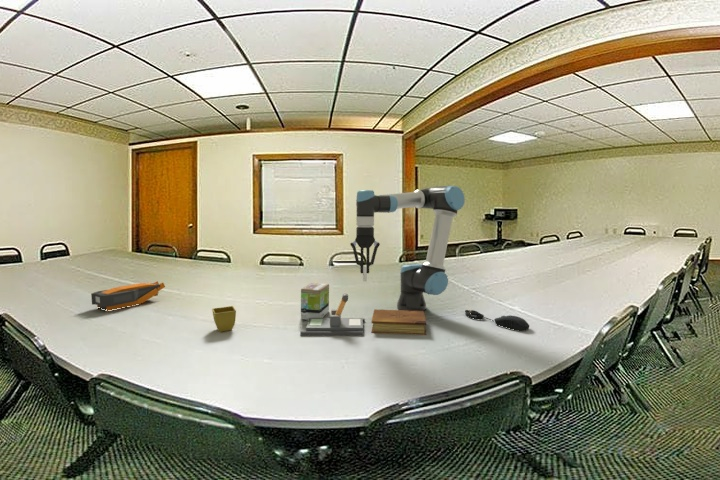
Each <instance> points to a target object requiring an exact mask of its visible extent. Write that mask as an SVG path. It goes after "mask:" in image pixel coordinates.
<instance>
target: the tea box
mask: <svg viewBox="0 0 720 480" xmlns="http://www.w3.org/2000/svg"><path fill="white" fill-rule="evenodd" d="M329 311H330V284H328V283H319V282H317V283H315V282H313V283H312V282H311V283H309V284H308V285H306V286H304V287H303V288H301V289H300V319H301V320H307V321H308V319H309V318H324V317H325V316H326V315H327V314H328V313H329Z"/></svg>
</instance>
